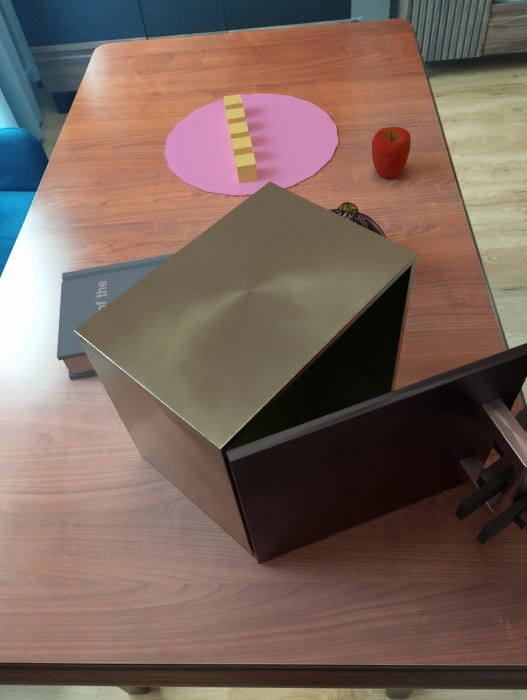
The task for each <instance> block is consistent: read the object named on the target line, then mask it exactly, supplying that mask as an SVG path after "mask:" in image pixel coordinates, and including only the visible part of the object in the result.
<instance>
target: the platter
mask: <svg viewBox="0 0 527 700" xmlns="http://www.w3.org/2000/svg"><path fill="white" fill-rule="evenodd" d="M165 141H166V142H165V146H164V151H163V155H164V158H165V161H166V163H167V166H168V169H169V171H170V172H172V173H173V174H174V175H175V176H176V177H177V178H178V179H179V180H180V181H181V182H182V183H184V184H186V185H187V186H190V187H192V188H195V189H198V190H200V191H202V192H205V193H210V194H217V195H224V196H228V197H240V196H243V197H244V196H251V195H253V194H254V193H255V192H256V191H258V190H259V189H260V188H262V187H263V186H264V185H266V184H267V183H268V182H272V183H274V184H276V185H278V186H280V187H282V188H284V189H286V190H287V189H288V188H292V187H294V186H296V185H298V184H301V183H302V182H304V181H306V180H307V179H309V178H311V177H313V176H315V175H316V174H317V173H319V171H321V170H322V169H323V168H324V167H325V166H326V165H327V164H328V163H329V162H330V161H331V160H332V158H333V157H334V154H335V152H336V149H337V147H338V145H339V135H338V126H337V125H336V123H335V121H334V120H333V118H331V116H330V115H329V113H328V112H327V111H325V110H323V109H322V108H321V107H318V106H317V105H316V104H314V103H313V102H312V101H308V100H305V99H301V98H299V97H295V96H292V95H289V94H288V95H287V94H286V95H285V94H277V93H267V92H265V93H251V94H250V93H248V94H241V93H238V94H231V95H224V96H223V98H221V99H218V100H214V101H213V102H210V103H208V104H206V105H203V106H201V107H199V108H197V109H194V110H193V111H192V112H191V113H189V114H188V115H186V116H185V117H184V118H182V119H181V120H180V121H178V122H176V125H174V127H173V129H172V130H171V131H170V133H169V134H168V136H167V137H166V140H165Z"/></svg>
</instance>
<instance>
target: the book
mask: <svg viewBox="0 0 527 700" xmlns="http://www.w3.org/2000/svg"><path fill="white" fill-rule="evenodd" d="M175 253H176V252H175ZM175 253H174V252H173V253H168V254H162V255H161V254H160V255H156V256H150V257H145V258H140V259H133V260H128V261H127V260H126V261H123V262H117V263H112V264H105V265H100V266H95V267H88V268H83V269H77V270H72V271H66V272H62V273H61V274H62V275H61V279H62V280H61V288H60V302H59V303H60V304H59V318H58V320H59V321H58V334H57V348H56V358H57V360H58V361H63V363H64V365H65V366H66V368H67V370H68V378H69V379H70V380H76V379H77V380H78V379H83V378H88V377H92V376H98V375H97V373H96V371H95V369H94V367H93V365H92V364H91V362H90V360H89V358H88V356H87V354H86V352H85V351H84V349H83V347H82V345H81V343H80V341H79V339H78V338H77V336H76V334H75V332H74V330H75V329H76V328H78V327H79V326H80V325H82V324H83V323H84V322H86V321H87V320H88V319H90V318H91V317H92V316H93V315H95V314H96V313H97V312H99V311H100V310H101V309H103V308H104V307H105V306H107V305H108V304H109V303H111V302H112V301H113V300H114V299H116V298H117V297H118V296H120V295H121V294H122V293H124V292H125V291H126V290H128V289H129V288H130V287H132V286H133V285H134V284H136V283H137V282H138V281H139V280H141V279H142V278H143V277H145V276H146V275H147V274H149V273H150V272H151V271H153V270H154V269H155V268H157V267H158V266H159V265H161V264H162V263H163V262H164V261H166V260H167V259H168V258H170V257H171V256H172V255H174V254H175Z"/></svg>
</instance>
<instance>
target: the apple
mask: <svg viewBox="0 0 527 700" xmlns="http://www.w3.org/2000/svg"><path fill="white" fill-rule="evenodd" d="M411 145H412V139H411V133H410V132H409V130H407V129H405V128H403V127H400V126H388V127H382V128H380V129H379V130H378V131H376V132H375V134H374V135H373V138H372V140H371V158H372V163H373V167H374V169H375V171H376V172H377V174H378V175H379V176H380V177H381V178H384V179H394V178H397V177H398V176H400V175H401V174H402V172H403V170H404V169H405V167H406V165H407V163H408V159H409V156H410V151H411Z"/></svg>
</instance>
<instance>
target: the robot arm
mask: <svg viewBox="0 0 527 700" xmlns="http://www.w3.org/2000/svg"><path fill="white" fill-rule="evenodd" d="M514 418H515V419H516V420H517V422H518V423H519V424H520V426H521V427H522V428H523V430H524V431H525V432H527V404H526V405H524V407H522V409H520V411H518V412H517V414H516V415H514ZM492 450H493V451H495V453H497V454H498V456H499V458H497V460H495V461H494V462H492V463H490V465H488V466H487V467H484V468H485V469H484V470H483V471H482V472H481V474H480V476H479V478H478V480H477V484H478V485H479V486H480V488H479V489H478V490H476V491H475V492H474V493H472V492H471V494H469V495H468V496H466V497H465V498H464V499H462V500H461V501H459V504H458V505H457V508H456V510H455V512H454V516H455V517H456V518H457V519H458V521H460V522H462V521H463V520H465V519H466V518H468V517H469V516H470V515H471V514H473V513H474V512H475V511H477V510H478V509H479V508H481V506H482V505H483V504H485V503H486V502H488V501H489V500H490V499H492V498H493V497H494V496H496V495H497V494H498V493H500V492H501V491H502V490H503V488H504V486H505V484H506V483H507V481H508V479H509V477H510V476H511V474H512V472H513V471H514V467H513V466H512V465H511V463H510V462H509V460H508V459H507V457H506V456H505V455H504V453H503V452H502V450H501V449H500V447H499V446H498V444H497V443H496V442H494V445H493V448H492ZM513 523H515V525H517V527H518V528H520V530H522V531H524V530H527V494H525V495H524V496H523V497H521V498H520V499H519V500H517V501H516V502H515V503H514V504H512V505H511V506H510V507H508V508H507V509H506V510H504V511H503V512H502V513H500V514H499V515H498V516H496V517H495V518H494V519H492V520H491V521H490V520H489V521H488V522H487V523H486V524H484V525H483V526H482V527H481V528H480V530H479V532H478V534H477V535H476V537H475V539H476V541H477V542H478V543H479V544H480V545H481V546H484V545H486V543H488V542H489V541H491V539H493V538H494V537H495V536H498V534H500V533H501V532H503V531H504V530H505V529H506V528H508V527H509V526H510V525H511V524H513Z"/></svg>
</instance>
